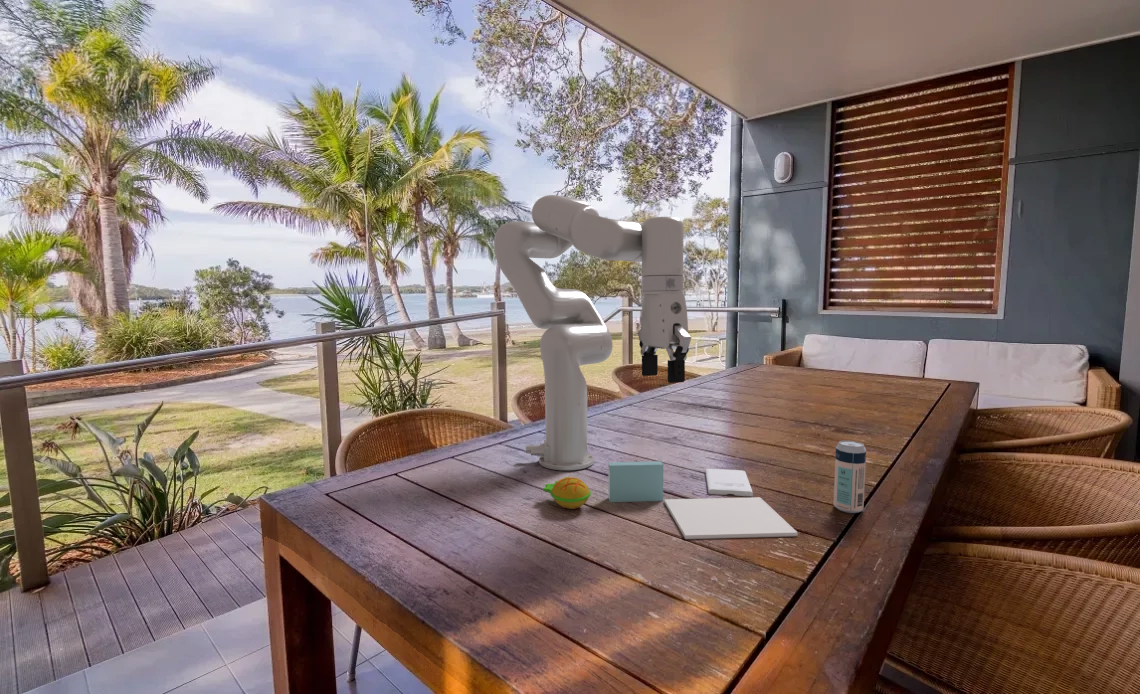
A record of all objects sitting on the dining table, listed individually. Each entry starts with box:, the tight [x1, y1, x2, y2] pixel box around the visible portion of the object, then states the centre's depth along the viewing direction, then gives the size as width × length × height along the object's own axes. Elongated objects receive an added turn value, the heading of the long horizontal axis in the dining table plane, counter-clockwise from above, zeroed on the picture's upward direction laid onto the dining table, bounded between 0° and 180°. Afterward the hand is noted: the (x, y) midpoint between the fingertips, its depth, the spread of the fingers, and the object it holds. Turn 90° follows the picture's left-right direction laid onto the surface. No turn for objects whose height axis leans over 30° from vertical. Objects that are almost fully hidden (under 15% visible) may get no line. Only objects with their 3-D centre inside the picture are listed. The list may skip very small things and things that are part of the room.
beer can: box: [832, 440, 867, 514], centre depth 96 cm, size 5×5×12 cm
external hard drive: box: [705, 468, 754, 497], centre depth 110 cm, size 2×8×12 cm
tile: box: [607, 460, 664, 503], centre depth 101 cm, size 10×2×7 cm, turn 93°
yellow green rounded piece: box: [542, 476, 592, 510], centre depth 99 cm, size 7×10×5 cm
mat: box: [663, 496, 799, 540], centre depth 93 cm, size 18×15×1 cm
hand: (662, 378), depth 101 cm, fingers open, 9 cm apart
